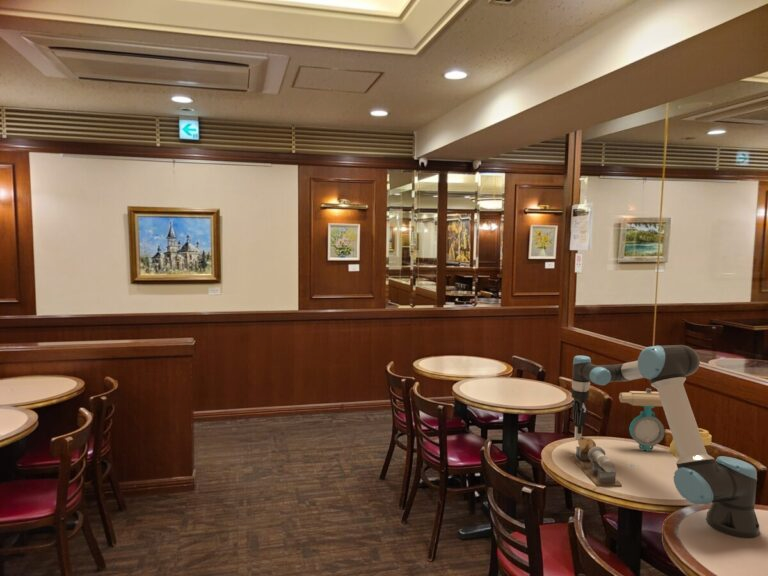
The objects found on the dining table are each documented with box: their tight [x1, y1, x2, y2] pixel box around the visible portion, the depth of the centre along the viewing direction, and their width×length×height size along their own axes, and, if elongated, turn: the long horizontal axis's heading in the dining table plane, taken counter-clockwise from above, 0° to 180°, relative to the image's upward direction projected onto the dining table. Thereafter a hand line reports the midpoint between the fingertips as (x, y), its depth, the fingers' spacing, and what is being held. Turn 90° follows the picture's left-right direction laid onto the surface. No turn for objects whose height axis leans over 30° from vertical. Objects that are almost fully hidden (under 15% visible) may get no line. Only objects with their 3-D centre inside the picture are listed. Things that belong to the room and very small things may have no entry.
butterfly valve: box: [618, 387, 666, 452], centre depth 245 cm, size 27×7×30 cm, turn 84°
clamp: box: [669, 427, 713, 460], centre depth 234 cm, size 20×9×16 cm, turn 176°
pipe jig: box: [570, 445, 623, 488], centre depth 221 cm, size 29×10×12 cm, turn 1°
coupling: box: [575, 436, 597, 461], centre depth 231 cm, size 6×7×10 cm
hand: (577, 439), depth 240 cm, fingers closed
